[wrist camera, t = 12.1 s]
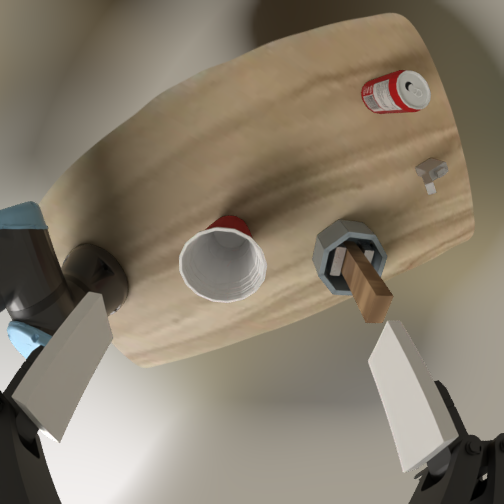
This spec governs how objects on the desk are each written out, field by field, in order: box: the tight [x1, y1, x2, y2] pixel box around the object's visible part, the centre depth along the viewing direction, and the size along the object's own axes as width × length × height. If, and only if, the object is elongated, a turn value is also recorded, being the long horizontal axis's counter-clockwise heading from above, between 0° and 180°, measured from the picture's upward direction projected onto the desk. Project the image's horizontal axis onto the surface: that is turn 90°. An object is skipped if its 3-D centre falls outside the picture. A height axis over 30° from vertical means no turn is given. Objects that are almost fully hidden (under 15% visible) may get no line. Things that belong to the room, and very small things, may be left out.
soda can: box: [361, 70, 431, 114], centre depth 28 cm, size 6×6×12 cm
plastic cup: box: [179, 215, 267, 303], centre depth 38 cm, size 11×11×12 cm
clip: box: [326, 240, 374, 276], centre depth 42 cm, size 6×5×4 cm
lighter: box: [415, 158, 448, 195], centre depth 34 cm, size 7×2×8 cm, turn 123°
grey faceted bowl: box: [312, 219, 387, 296], centre depth 42 cm, size 11×11×6 cm
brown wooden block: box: [341, 241, 393, 323], centre depth 36 cm, size 2×4×16 cm, turn 175°
